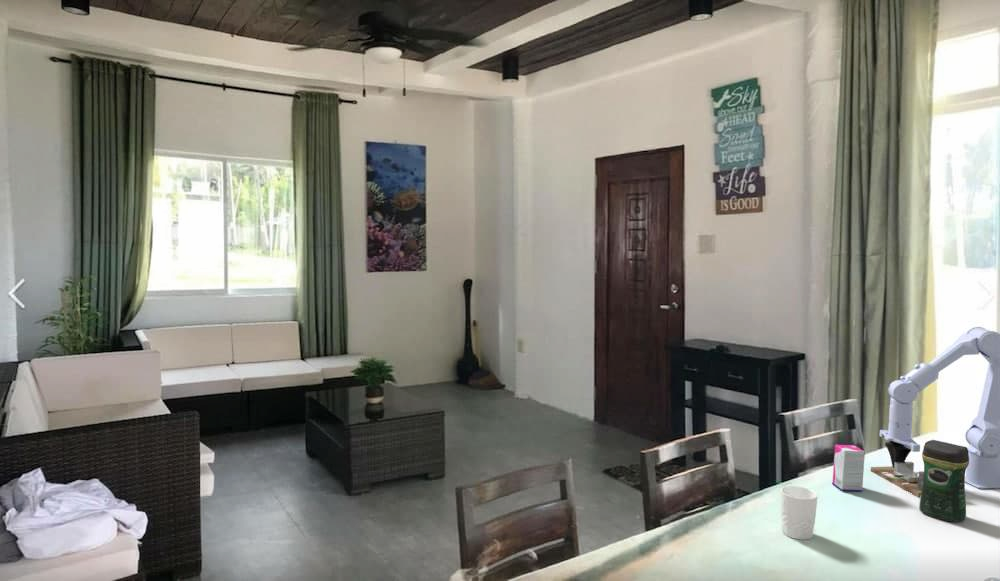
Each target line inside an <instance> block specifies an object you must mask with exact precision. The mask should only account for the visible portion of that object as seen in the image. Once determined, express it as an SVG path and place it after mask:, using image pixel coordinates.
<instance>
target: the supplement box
mask: <svg viewBox="0 0 1000 581" xmlns="http://www.w3.org/2000/svg"><path fill="white" fill-rule="evenodd" d="M865 452H866V451H865V450H863V449H861V448H860V447H859V446H857V445H855V444H853V445H852V444H835V445H834V453H833V454H834V456H833V457H834V458H833V470H832V471H833V472H832V485H833V486H834V487H835V488H837V489H838V490H839V491H840V492H845V493H846V492H847V493H848V492H851V493H854V492H855V493H856V492H857V493H862V492H863V487H864V486H863V485H864V484H863V483H864V472H865V471H864V470H865V467H864V466H865V456H866V455H865V454H866V453H865Z"/></svg>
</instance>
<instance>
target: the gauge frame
mask: <svg viewBox="0 0 1000 581" xmlns="http://www.w3.org/2000/svg"><path fill="white" fill-rule="evenodd" d="M870 472H871V473H874V474H876V475H877V476H879V477H881V478H882V479H884V480H886V481H888V482H890V483H891V484H893V485H895V486H897V487H898V488H900V489H902V490H904V491H906V492H907V491H908V492H907V493H909V492H910V493H909V494H911V493H912V494H911V495H913V496H915V497H917V498H920V497H921V491H922V485H923V478H924V470H922V471H918V472H919V475H918V482H907V481H906V480H904V479H902V478H900V477H894V468H893V466H871V467H870Z"/></svg>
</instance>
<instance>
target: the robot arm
mask: <svg viewBox="0 0 1000 581" xmlns="http://www.w3.org/2000/svg"><path fill="white" fill-rule="evenodd" d="M969 355H970V356H972V355H976V356H977V355H981V356H982V357H983V358H984V359H985V360H986V361H987V362H988V366H987V372H986V376H985V380H984V384H983V390H982V393H981V397H980V403H979V406H978V411H977V416H976V417H975V418H973V419H972V420H971V423H970V424H971V425H970V426H969V427H968V429H966V431H965V434H964V436H965V441H966V442H967V443H968V444H969V446H968V447H967V449H968V453H969V454H968V455H969V465H968V467H967V468H966V471H965V483H966V484H968V485H970V486H973V487H974V488H977V489H980V490H981V489H983V490H984V489H985V490H986V489H1000V332H997V331H994V330H989V329H987V328H984V327H982V326H975V327H971V328H970V329H969V330H967V332H964V333H962V334H960V335H959V337H957V339H956V340H955V341H954V342H953V343H951V344H950V345H949V346H948V347H946V349H944V350H943V351H942V352H941V353H939V354H938V355H937V356H935V358H933V359H932V360H931V361H930V362H921V363H919V364H918V363H916V364H915V365H913V369H912V370H910V371H909V372H908V373H906V374H905V375H901V376H900V377H899V379H898V380H897V379H895V380H894V381H892V382H891V383H890V384H889V387H887V393H888V394H889V396H890V399H889V400H890V401H889V402H890V403H889V404H890V405H889V413H888V429H880V430H879V437H880V438H884V440H887V442H885V443H884V446H885V447H886V449H887V451H888V453H889V456H890V461H891V465H892V466H893V468H894V465H895V462H906V461H907V457H908V456H909V455H910V453H911V452H913V453H915V452H916V453H917V452H918V453H919V452H921V444H919V443H918V442H916V441H915V440H914V439H913V438H912V426H913V425H912V424H913V412H914V411H913V409H914V408H913V406H914V404H913V403H914V401H916V400H917V398H918V394H919V393H920V392H922V391H924V390H925V389H926V388H928V387H929V386H930V385H931V384H933V383H934V382H935V381H937V380H939V376H940V375H939V373H940V372H942V371H943V370H944V369H945V368H947V367H949V366H950V365H952V364H953V363H955V362H956V361H958V360H960V359H961V358H962V357H963V356H969Z"/></svg>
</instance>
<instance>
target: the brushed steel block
mask: <svg viewBox="0 0 1000 581" xmlns="http://www.w3.org/2000/svg"><path fill="white" fill-rule="evenodd" d="M914 467H915V463H914V462H913V461H905V462H895V465H894V477H900V478H902V479H904V480H906V481H907V482H918V475H919V472H920V471H918V472H917V471H914V470H915V468H914Z"/></svg>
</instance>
